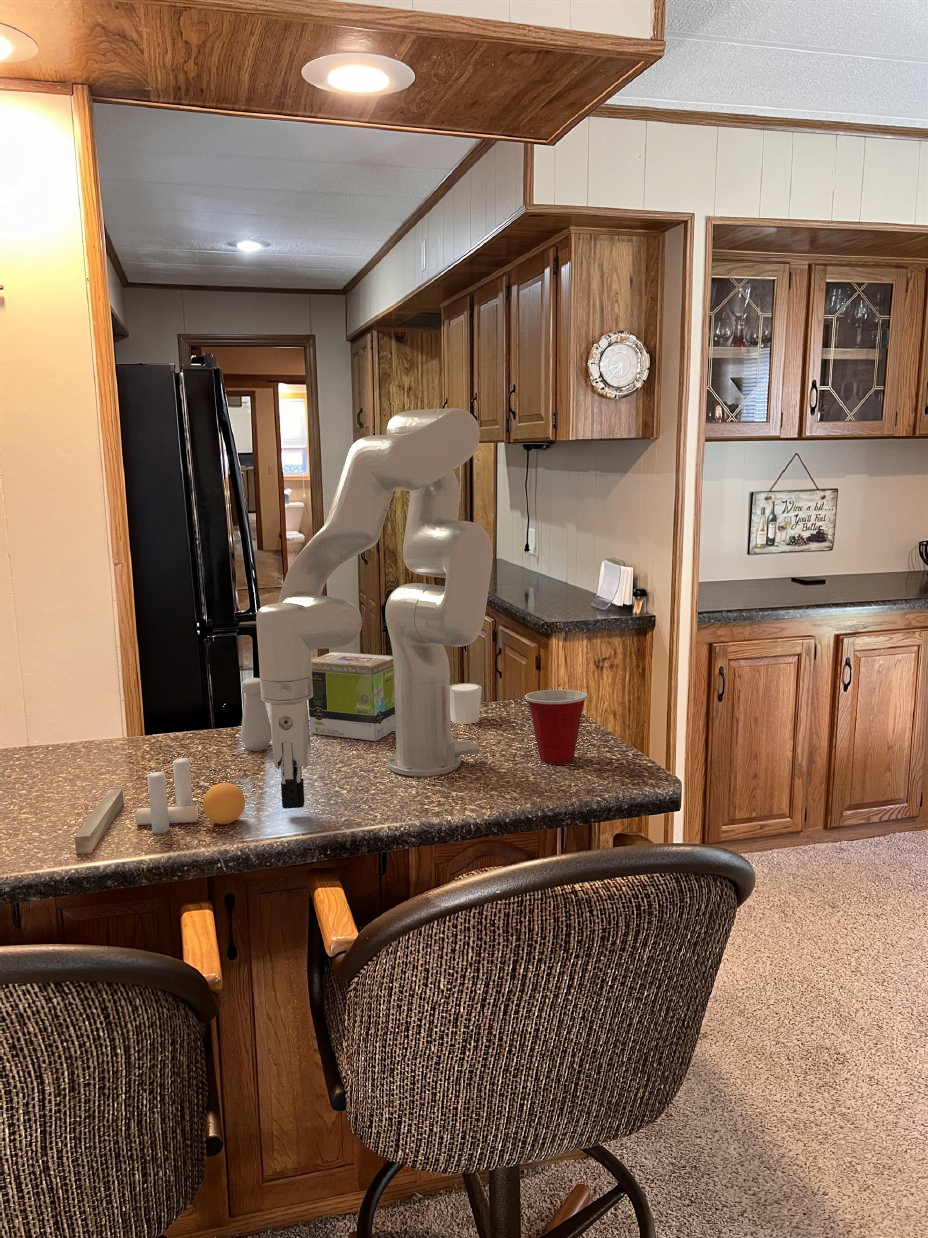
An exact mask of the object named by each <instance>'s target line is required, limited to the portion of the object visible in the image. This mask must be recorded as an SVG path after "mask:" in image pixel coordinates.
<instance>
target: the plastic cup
mask: <svg viewBox="0 0 928 1238" xmlns="http://www.w3.org/2000/svg"><path fill="white" fill-rule="evenodd" d="M588 695H589V694H587V692H585V691H582V690H575V689H574V690H573V689H545V690H536V691H532V692H529V693H526V694H525V695H524V699H525V700H526V702H527V705H528V708H529V711H530V715H531V720H532V725H533V731H534V736H535V737H534V738H535V741H536V744H537V750H538V756H539V758H540V759H541V760H540V759H539V760H540V761H541V762H542V761H543V762H542V763H544V762H545V763H544V764H546V763H548V765H550V764H564V765H568V764H570V763H572V762H573V761H572V760H574V757H575V754H576V746H577V743H578V737H579V731H580V725H581V720H582V713H583V711H584V710H583V708H584V705H585V702H586V699H587V698H588ZM571 761H572V762H571ZM569 762H570V763H569ZM567 763H568V764H567Z"/></svg>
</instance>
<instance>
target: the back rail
mask: <svg viewBox="0 0 928 1238" xmlns="http://www.w3.org/2000/svg"><path fill="white" fill-rule="evenodd" d="M123 791H124V790H123V788H115V789H113V788H112V789H108V791H106V794H104V796H103V798H102V799H101V800H100V801H99V803H98V804H97V805H96V807H95V808H94V810H93V811H92V813H91V814H90V815H89V817H88V818H87V819H86V820H85V822H84V824H83V825H82V826H81V827H80V829H79V830H78V832H77V833H76V834H75V836H74V844H75V853H76V855H82V854H83V855H84V854H92V853H93V852H94V850H95V849H96V847H97V845H98V844H99V842H100V841H101V839H102V838H103V836H104V835H105V834H106V831H107V830H108V829H109V827H110V826H111V824H112V823H113V821H114V820H115V818H116V817H117V815H118V814H119V812H120V811H121V809H122V808H123V806H124V805H125V804H124V803H125V802H124V793H123ZM93 849H94V850H93Z"/></svg>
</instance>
